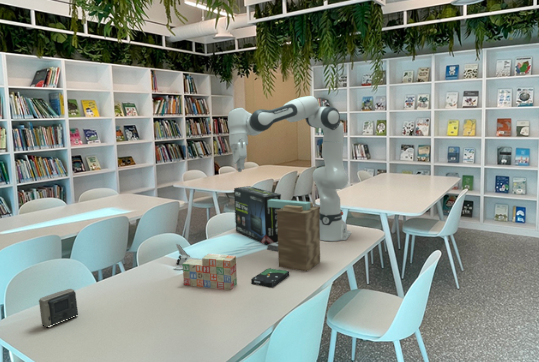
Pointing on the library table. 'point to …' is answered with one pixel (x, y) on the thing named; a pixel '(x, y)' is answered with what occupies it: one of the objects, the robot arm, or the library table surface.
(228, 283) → the stack of blocks
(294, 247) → the brown tall textured block
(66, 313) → the camera
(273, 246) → the graphics card
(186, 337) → the library table surface
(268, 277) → the disk drive
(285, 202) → the batten
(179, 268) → the space shuttle model
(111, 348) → the library table surface
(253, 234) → the router box
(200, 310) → the library table surface
